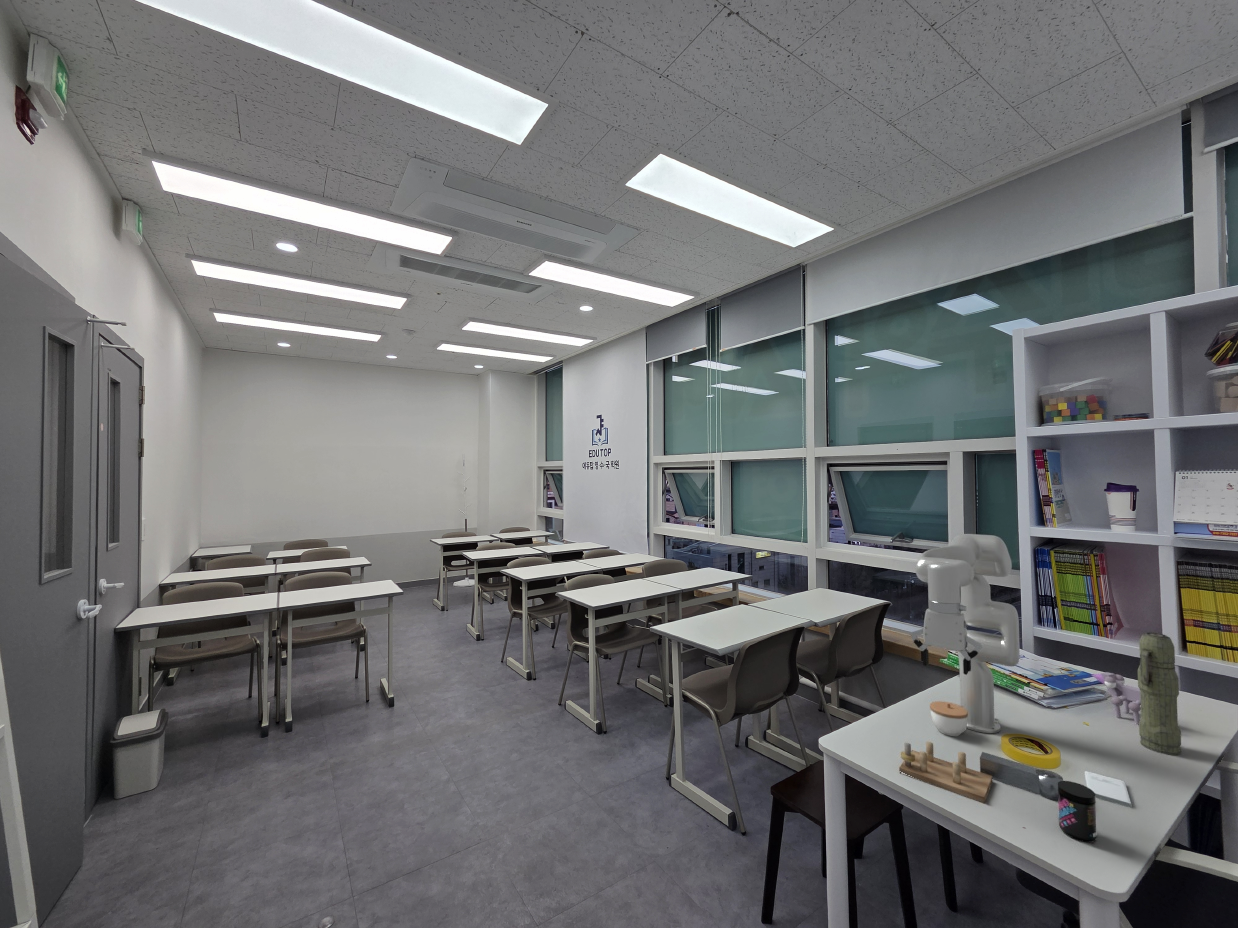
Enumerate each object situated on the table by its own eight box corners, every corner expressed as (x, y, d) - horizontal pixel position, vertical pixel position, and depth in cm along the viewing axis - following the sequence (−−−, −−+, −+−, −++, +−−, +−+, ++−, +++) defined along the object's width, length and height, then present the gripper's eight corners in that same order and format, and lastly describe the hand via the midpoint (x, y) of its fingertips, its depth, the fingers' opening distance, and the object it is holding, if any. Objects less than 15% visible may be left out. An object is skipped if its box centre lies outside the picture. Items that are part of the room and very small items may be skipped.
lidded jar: (957, 724, 175) (956, 696, 175) (975, 740, 164) (975, 710, 164) (924, 723, 176) (923, 695, 176) (940, 738, 165) (939, 709, 165)
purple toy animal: (1082, 707, 187) (1082, 669, 188) (1100, 703, 191) (1100, 667, 191) (1155, 732, 168) (1155, 690, 169) (1173, 728, 172) (1173, 687, 173)
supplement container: (1061, 819, 126) (1060, 777, 126) (1098, 834, 121) (1097, 789, 121) (1056, 832, 121) (1055, 788, 122) (1095, 848, 116) (1093, 801, 116)
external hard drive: (1088, 797, 135) (1084, 775, 145) (1131, 809, 130) (1125, 786, 140) (1088, 791, 135) (1084, 769, 145) (1131, 803, 130) (1124, 780, 140)
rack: (910, 754, 156) (910, 729, 156) (992, 781, 142) (991, 754, 142) (898, 772, 146) (897, 745, 147) (984, 803, 132) (983, 773, 133)
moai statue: (1190, 751, 157) (1186, 636, 158) (1168, 758, 153) (1164, 640, 154) (1152, 737, 165) (1149, 628, 166) (1130, 743, 161) (1126, 632, 162)
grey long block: (983, 767, 148) (982, 750, 148) (1064, 793, 136) (1063, 774, 136) (979, 776, 144) (979, 757, 144) (1063, 803, 132) (1062, 783, 132)
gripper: (983, 609, 140) (985, 672, 139) (913, 599, 152) (914, 657, 151) (979, 615, 135) (980, 680, 134) (906, 604, 146) (907, 664, 146)
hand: (945, 668), depth 143 cm, fingers open, 9 cm apart
